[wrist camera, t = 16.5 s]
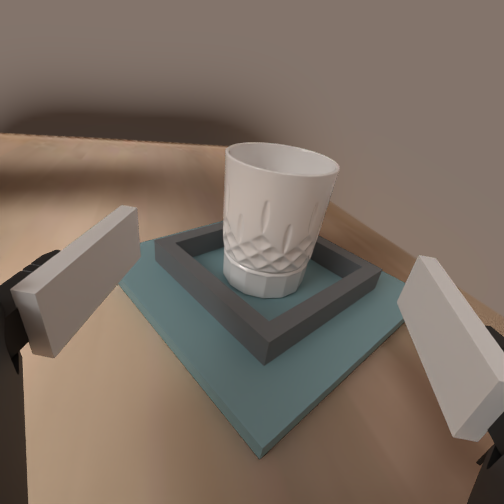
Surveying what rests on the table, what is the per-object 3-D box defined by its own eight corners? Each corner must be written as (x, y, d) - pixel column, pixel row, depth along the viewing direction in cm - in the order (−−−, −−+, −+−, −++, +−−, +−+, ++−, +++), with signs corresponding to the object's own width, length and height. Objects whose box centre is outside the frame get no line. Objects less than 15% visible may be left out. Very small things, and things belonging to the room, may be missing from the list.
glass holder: (101, 263, 27) (97, 232, 25) (265, 216, 39) (269, 194, 38) (259, 459, 15) (268, 424, 14) (423, 304, 28) (437, 276, 26)
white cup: (204, 255, 28) (210, 140, 23) (280, 245, 31) (300, 143, 26) (237, 314, 22) (255, 176, 17) (326, 294, 25) (364, 174, 20)
